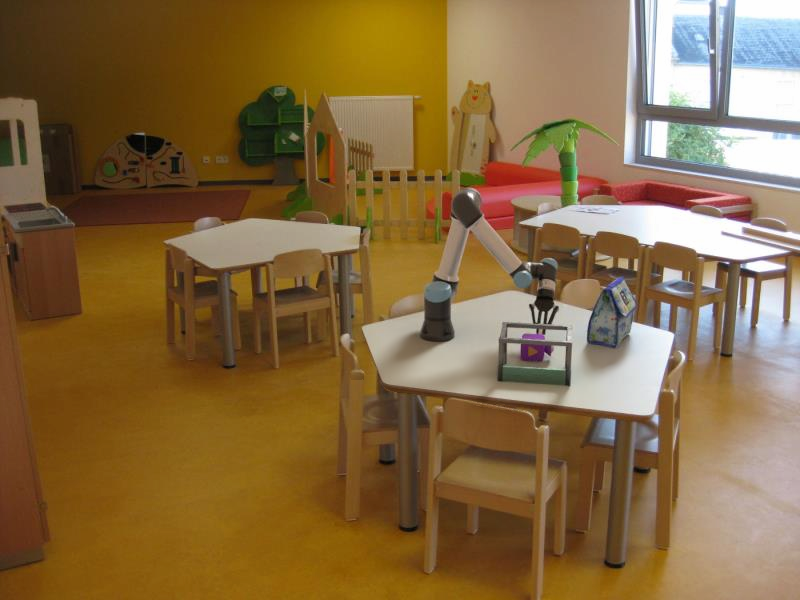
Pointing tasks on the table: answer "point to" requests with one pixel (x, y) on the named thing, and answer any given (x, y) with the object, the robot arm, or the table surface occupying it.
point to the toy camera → (534, 349)
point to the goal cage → (530, 372)
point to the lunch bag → (612, 315)
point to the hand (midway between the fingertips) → (539, 340)
